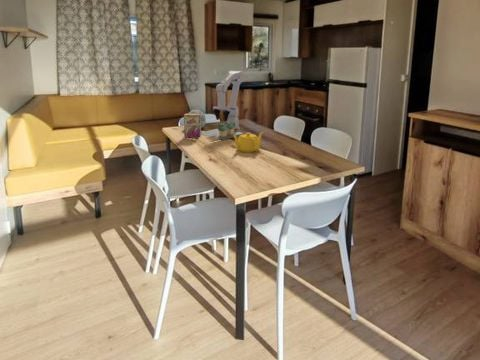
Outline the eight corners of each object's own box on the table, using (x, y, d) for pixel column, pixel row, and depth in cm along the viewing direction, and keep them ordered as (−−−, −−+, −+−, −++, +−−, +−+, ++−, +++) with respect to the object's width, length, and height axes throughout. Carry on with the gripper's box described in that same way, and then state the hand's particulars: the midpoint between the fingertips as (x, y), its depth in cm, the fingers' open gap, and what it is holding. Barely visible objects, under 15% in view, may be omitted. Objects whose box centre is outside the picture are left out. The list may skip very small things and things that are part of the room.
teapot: (239, 155, 229) (239, 137, 226) (227, 149, 242) (227, 132, 239) (270, 151, 239) (271, 133, 235) (258, 145, 252) (258, 129, 248)
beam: (230, 127, 282) (230, 121, 281) (235, 128, 280) (235, 122, 279) (218, 130, 272) (218, 124, 271) (222, 131, 270) (222, 125, 268)
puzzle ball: (187, 131, 292) (186, 111, 287) (185, 127, 306) (184, 108, 301) (207, 130, 295) (206, 111, 290) (204, 126, 309) (204, 107, 304)
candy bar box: (184, 138, 272) (183, 114, 266) (186, 136, 276) (185, 113, 271) (200, 138, 271) (199, 115, 265) (201, 137, 275) (200, 113, 270)
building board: (216, 129, 298) (216, 123, 297) (243, 134, 283) (243, 127, 282) (194, 135, 280) (194, 128, 279) (222, 140, 265) (222, 133, 264)
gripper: (210, 101, 279) (210, 119, 283) (225, 102, 270) (225, 122, 275) (216, 100, 284) (217, 118, 289) (232, 101, 276) (232, 120, 280)
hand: (221, 120), depth 282 cm, fingers open, 7 cm apart
